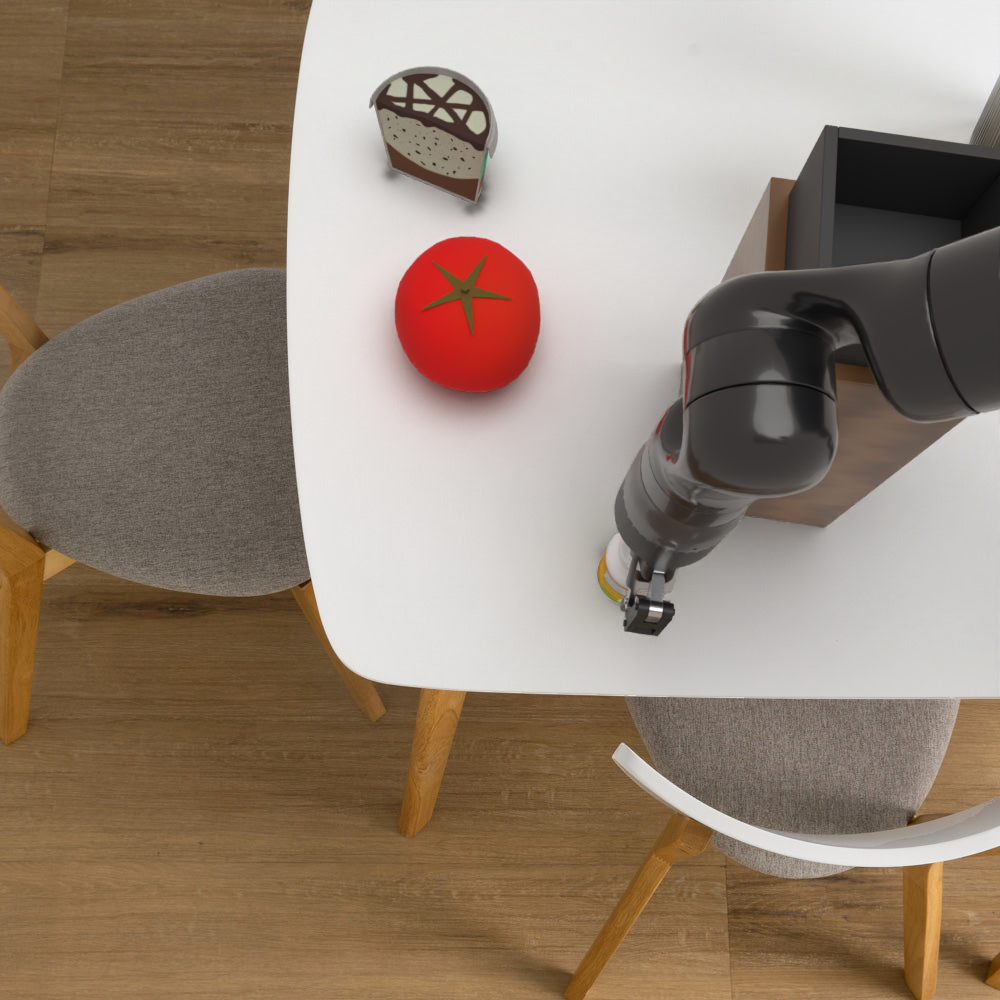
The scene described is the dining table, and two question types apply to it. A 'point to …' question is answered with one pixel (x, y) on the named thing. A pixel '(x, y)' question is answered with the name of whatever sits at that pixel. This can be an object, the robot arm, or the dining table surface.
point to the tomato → (468, 314)
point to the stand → (861, 408)
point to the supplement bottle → (615, 570)
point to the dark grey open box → (886, 201)
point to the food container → (437, 128)
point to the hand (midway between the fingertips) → (638, 556)
